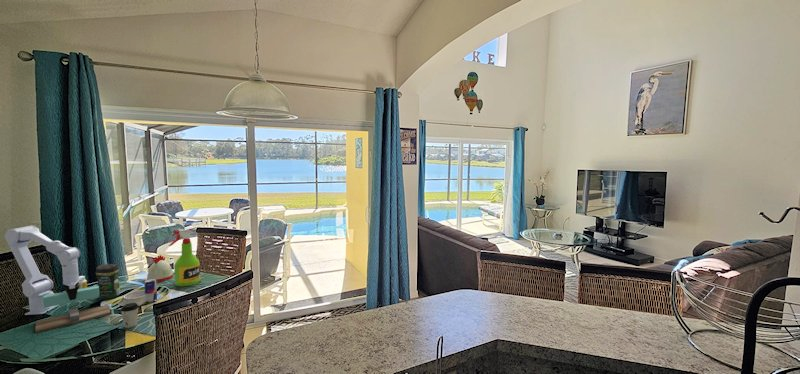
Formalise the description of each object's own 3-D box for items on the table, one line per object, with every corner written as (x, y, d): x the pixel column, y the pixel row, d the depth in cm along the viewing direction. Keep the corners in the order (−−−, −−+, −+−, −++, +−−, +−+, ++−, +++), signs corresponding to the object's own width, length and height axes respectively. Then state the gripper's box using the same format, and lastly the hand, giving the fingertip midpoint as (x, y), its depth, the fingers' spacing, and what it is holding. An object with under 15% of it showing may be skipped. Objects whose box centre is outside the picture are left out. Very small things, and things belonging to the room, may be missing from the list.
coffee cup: (124, 330, 156) (123, 309, 155) (118, 326, 160) (117, 305, 159) (142, 324, 162) (141, 304, 161) (136, 320, 166) (135, 300, 165)
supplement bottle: (75, 295, 191) (74, 279, 190) (74, 293, 194) (72, 277, 193) (88, 293, 195) (87, 277, 194) (86, 290, 198) (85, 274, 197)
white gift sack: (141, 280, 215) (140, 258, 213) (160, 273, 228) (159, 251, 227) (160, 282, 212) (159, 259, 211) (178, 275, 226) (177, 253, 224)
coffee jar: (94, 299, 186) (92, 267, 185) (104, 293, 194) (102, 262, 192) (114, 299, 188) (112, 266, 186) (123, 293, 196) (121, 262, 194)
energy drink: (150, 303, 183) (149, 282, 182) (142, 302, 184) (141, 281, 183) (159, 299, 188) (158, 278, 187) (151, 298, 190) (150, 278, 188)
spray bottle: (162, 287, 205) (160, 230, 202) (189, 277, 223) (187, 224, 219) (179, 290, 202) (177, 232, 198) (205, 279, 219) (203, 226, 215)
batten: (43, 307, 164) (43, 297, 163) (45, 305, 166) (44, 295, 166) (99, 297, 177) (98, 287, 176) (99, 294, 179) (98, 285, 179)
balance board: (36, 323, 161) (35, 316, 160) (107, 306, 179) (107, 300, 179) (35, 332, 152) (34, 325, 152) (110, 314, 171) (110, 307, 171)
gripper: (82, 274, 168) (84, 300, 169) (80, 266, 178) (82, 291, 179) (62, 277, 163) (64, 304, 164) (61, 270, 173) (63, 295, 174)
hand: (72, 298), depth 171 cm, fingers closed on batten, 4 cm apart
